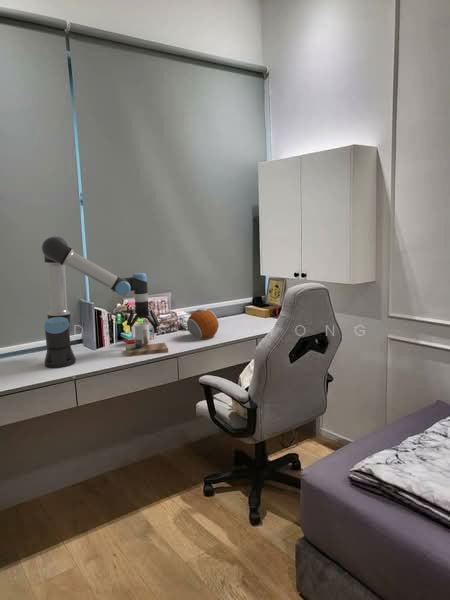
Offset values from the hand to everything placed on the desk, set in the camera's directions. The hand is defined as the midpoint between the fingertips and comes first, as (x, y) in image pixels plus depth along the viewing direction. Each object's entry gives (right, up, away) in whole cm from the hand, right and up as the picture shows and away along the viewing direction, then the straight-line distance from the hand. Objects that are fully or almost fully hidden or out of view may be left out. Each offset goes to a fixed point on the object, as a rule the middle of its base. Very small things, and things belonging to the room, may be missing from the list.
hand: (144, 338), depth 268 cm
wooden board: (+2, -7, -4) cm, 8 cm away
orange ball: (+32, -1, +24) cm, 40 cm away
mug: (-2, -4, +15) cm, 15 cm away
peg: (-2, -5, -5) cm, 7 cm away
